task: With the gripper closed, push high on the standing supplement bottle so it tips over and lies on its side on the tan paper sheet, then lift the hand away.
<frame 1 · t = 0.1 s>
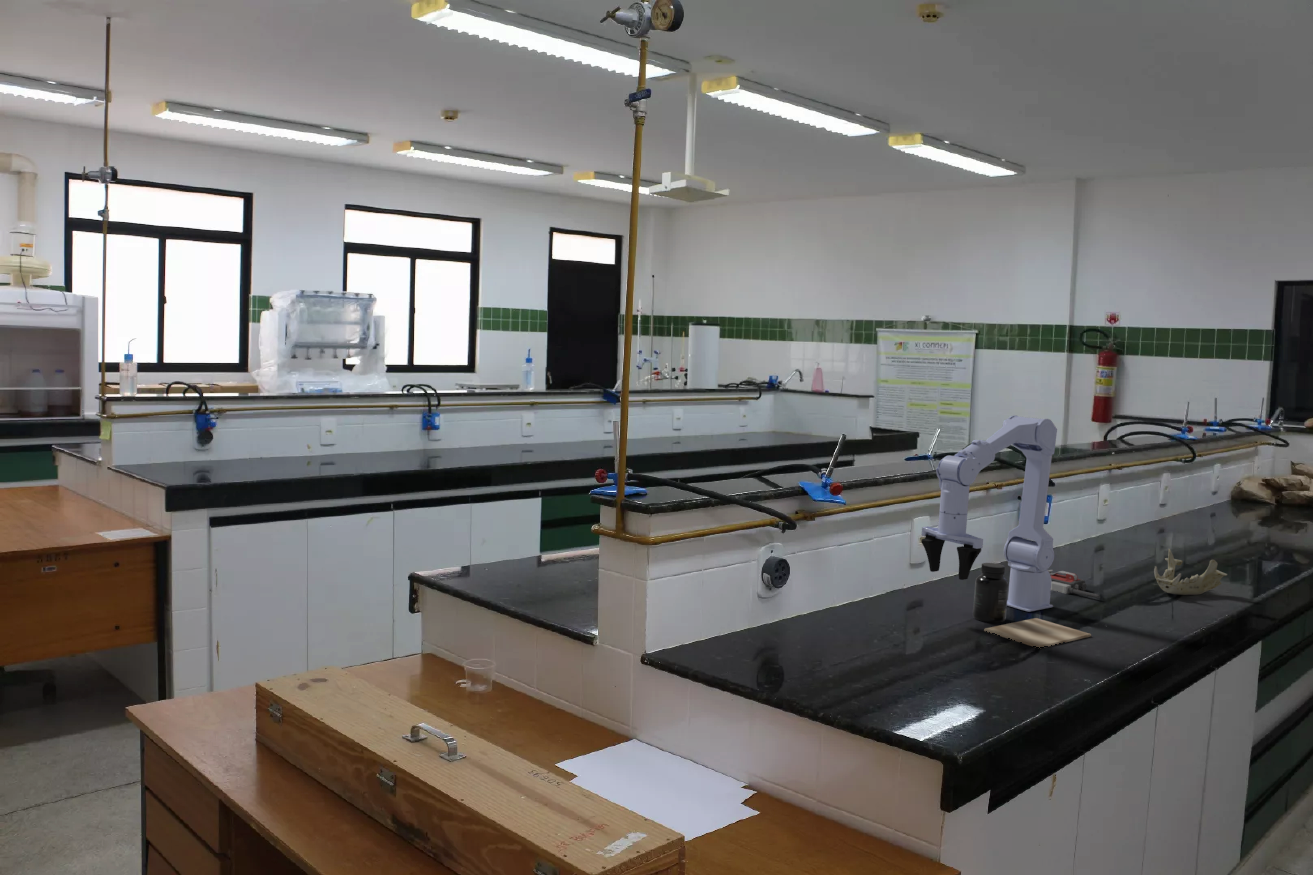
hand: (948, 575, 212), 10 cm above the table, tool pointing down, fingers open, 7 cm apart
tan paper sheet: (1037, 633, 206), on the table
supplement bottle: (988, 619, 216), on the table
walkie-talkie: (1067, 592, 247), on the table
mandible: (1179, 594, 249), on the table
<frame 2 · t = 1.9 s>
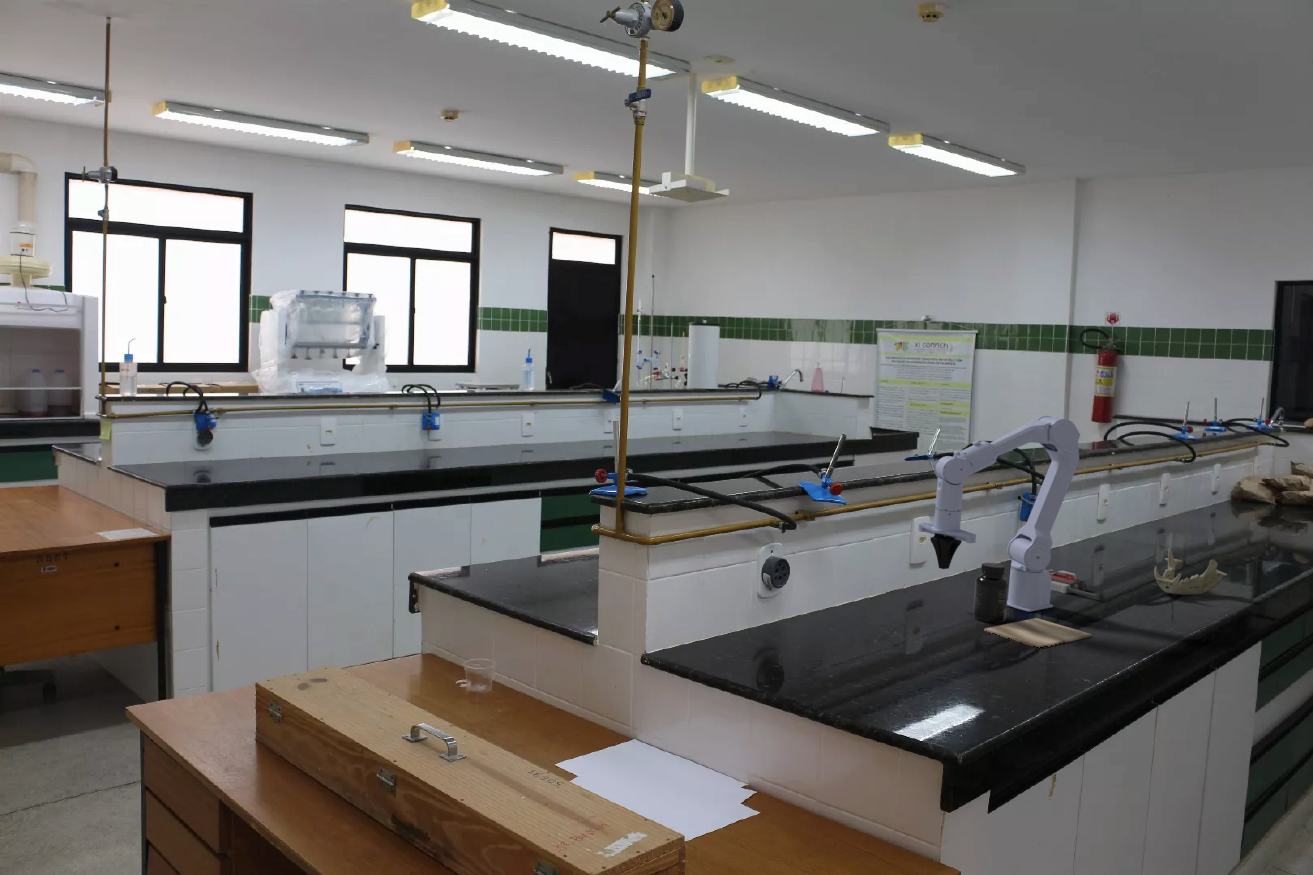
hand: (943, 568, 226), 8 cm above the table, tool pointing down, fingers closed
nothing on the table moved.
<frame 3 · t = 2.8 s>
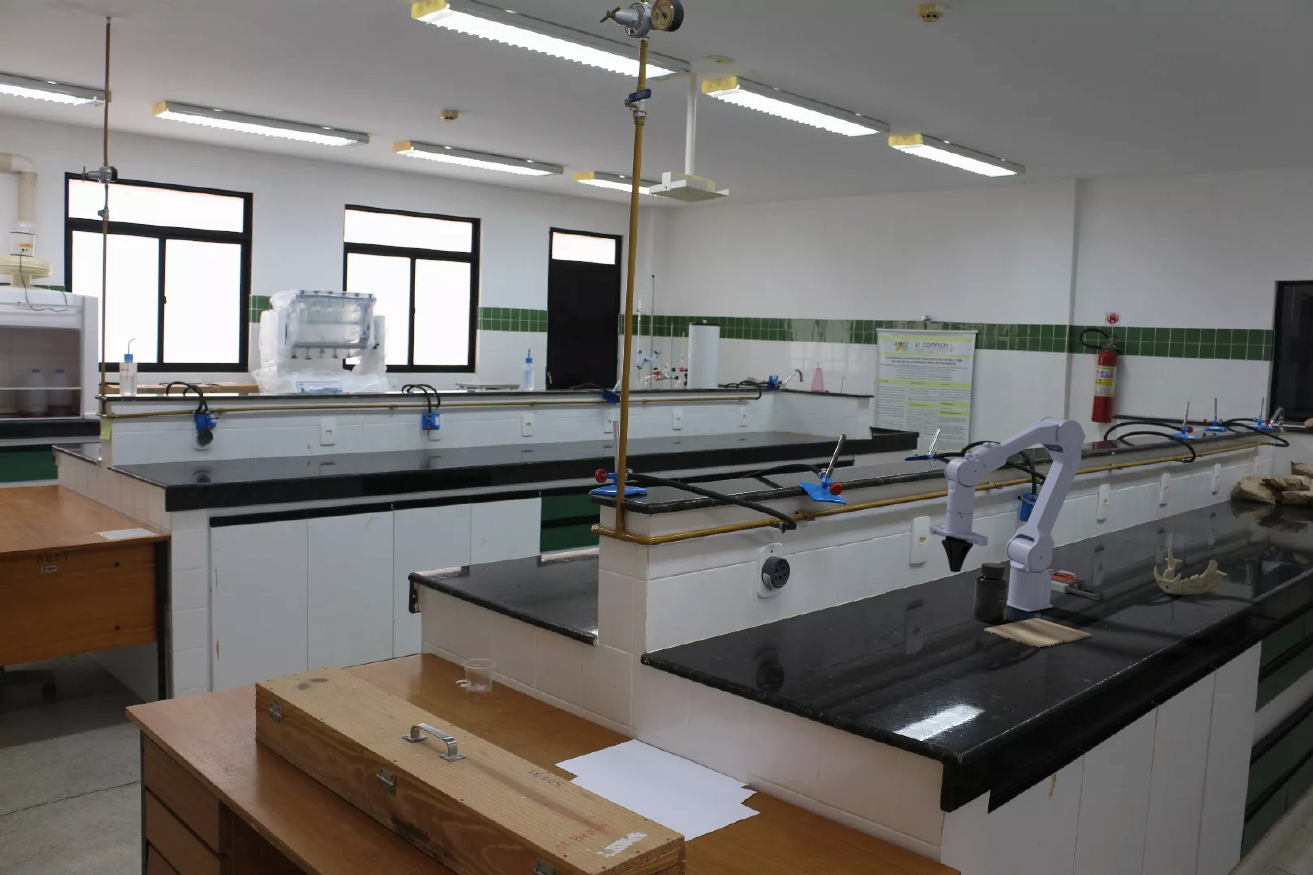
hand: (955, 571, 223), 8 cm above the table, tool pointing down, fingers closed
nothing on the table moved.
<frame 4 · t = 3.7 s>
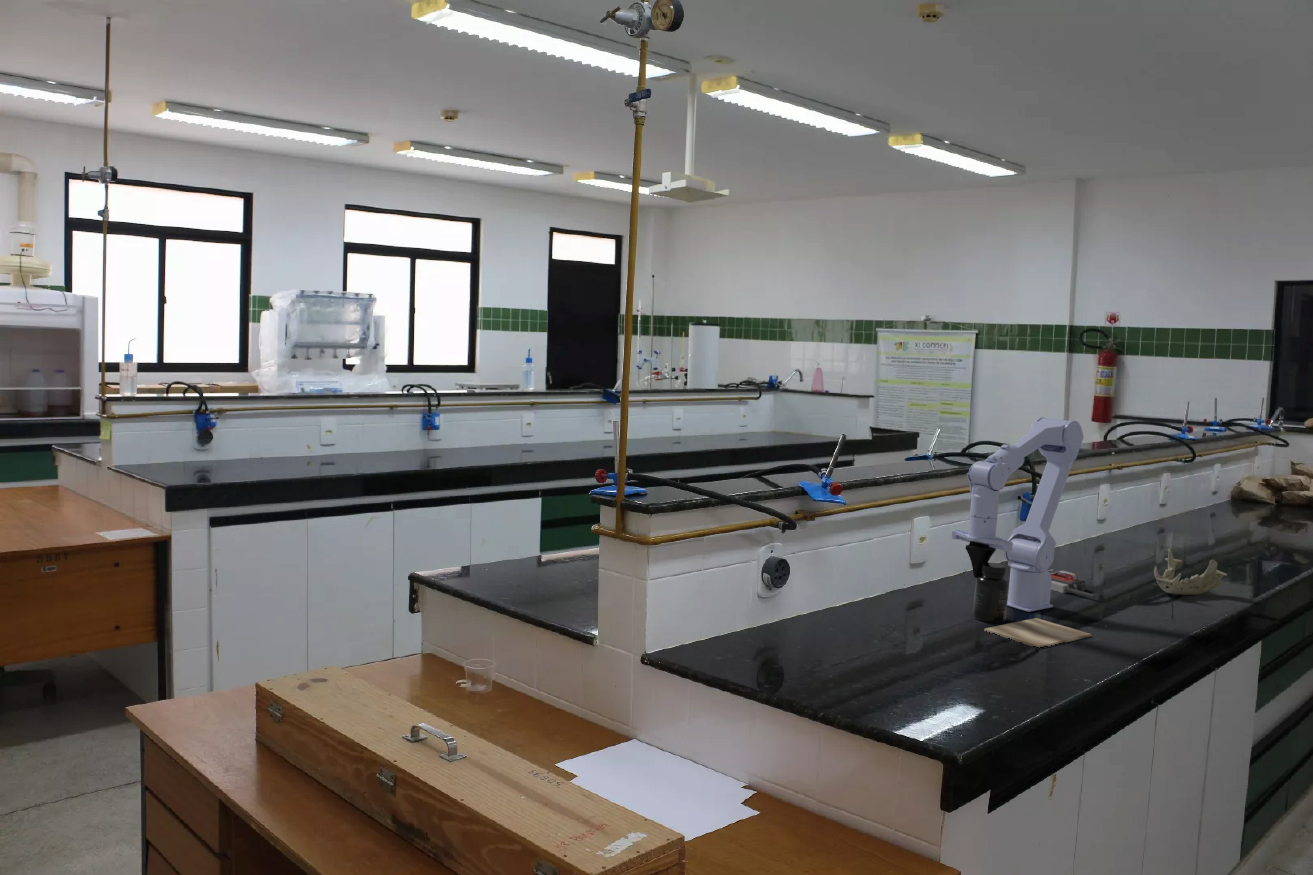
hand: (978, 577, 218), 8 cm above the table, tool pointing down, fingers closed, pressing on supplement bottle
supplement bottle: (988, 619, 216), on the table, touching gripper
everything else where it was.
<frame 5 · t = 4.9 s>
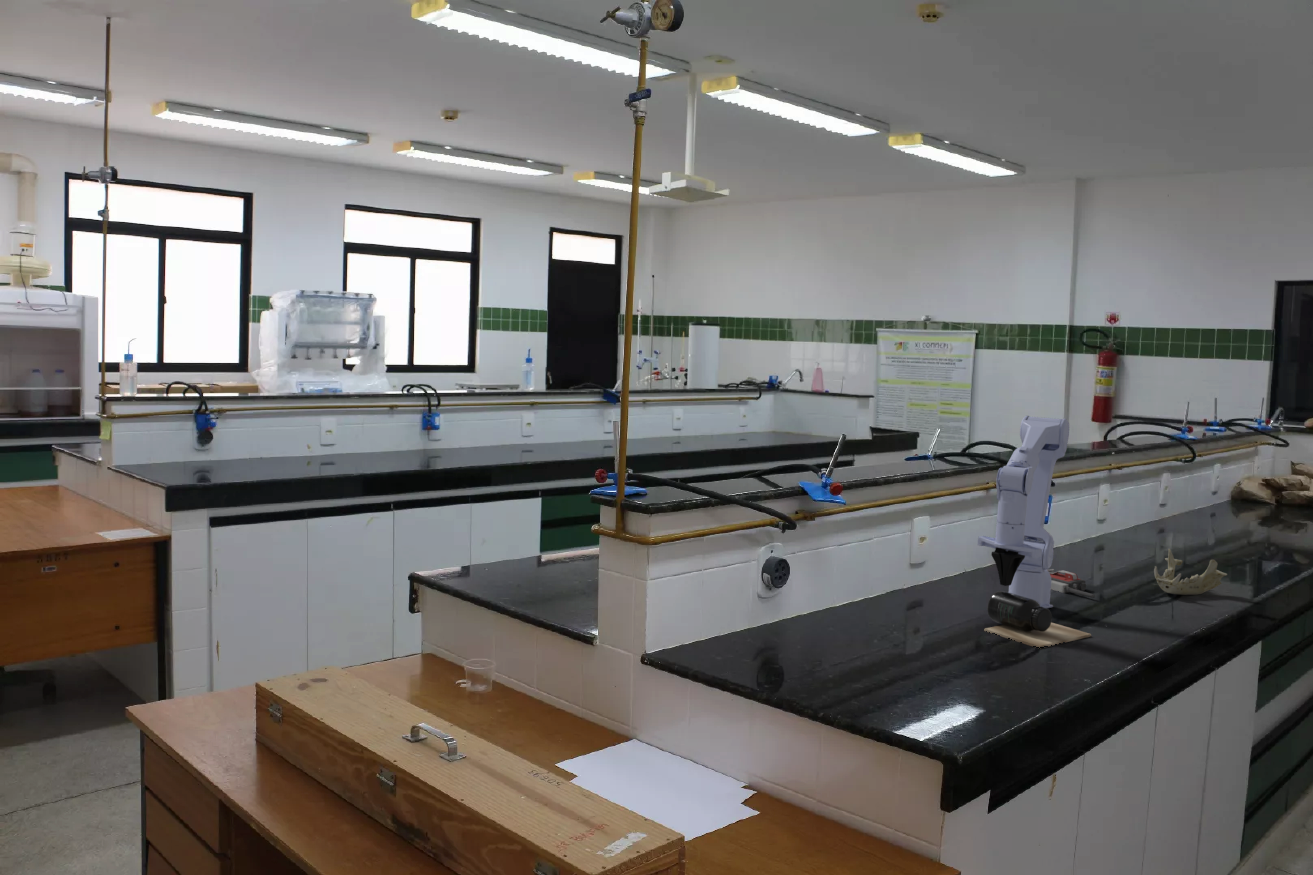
hand: (1005, 584, 212), 8 cm above the table, tool pointing down, fingers closed
supplement bottle: (996, 605, 212), point 4 cm above the table, touching tan paper sheet
everything else where it was.
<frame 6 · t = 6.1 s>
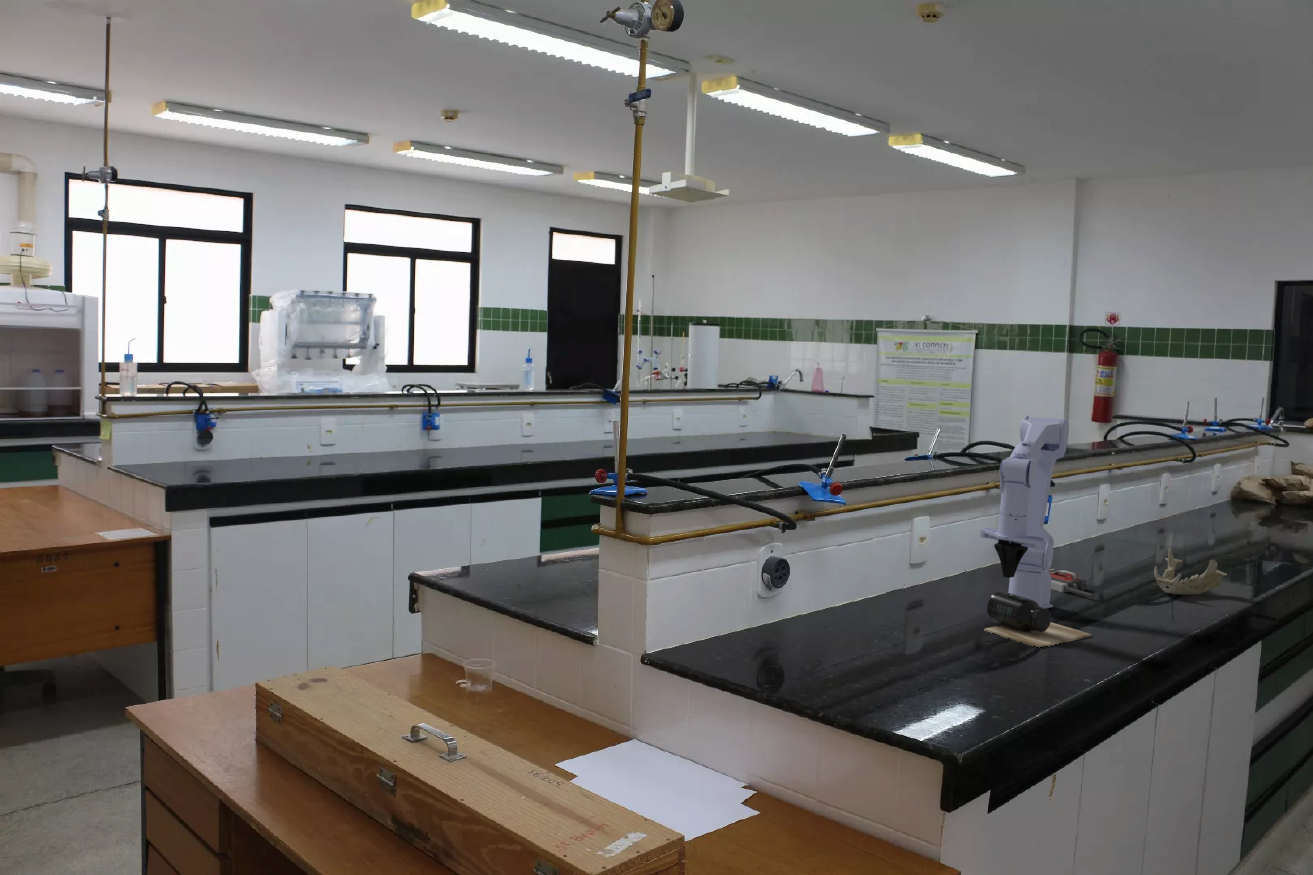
hand: (1008, 576, 212), 10 cm above the table, tool pointing down, fingers closed
nothing on the table moved.
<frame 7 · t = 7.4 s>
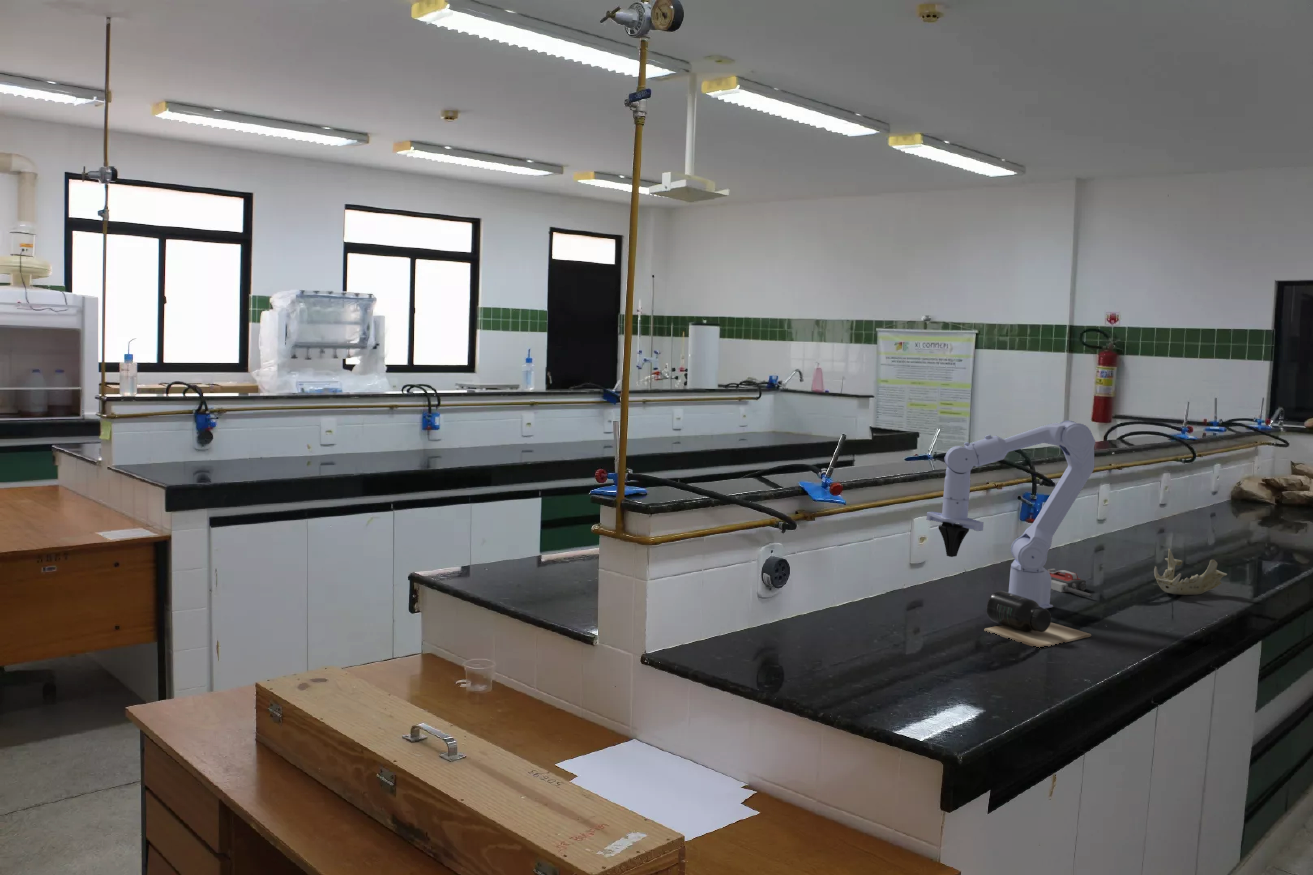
hand: (951, 556, 230), 10 cm above the table, tool pointing down, fingers closed
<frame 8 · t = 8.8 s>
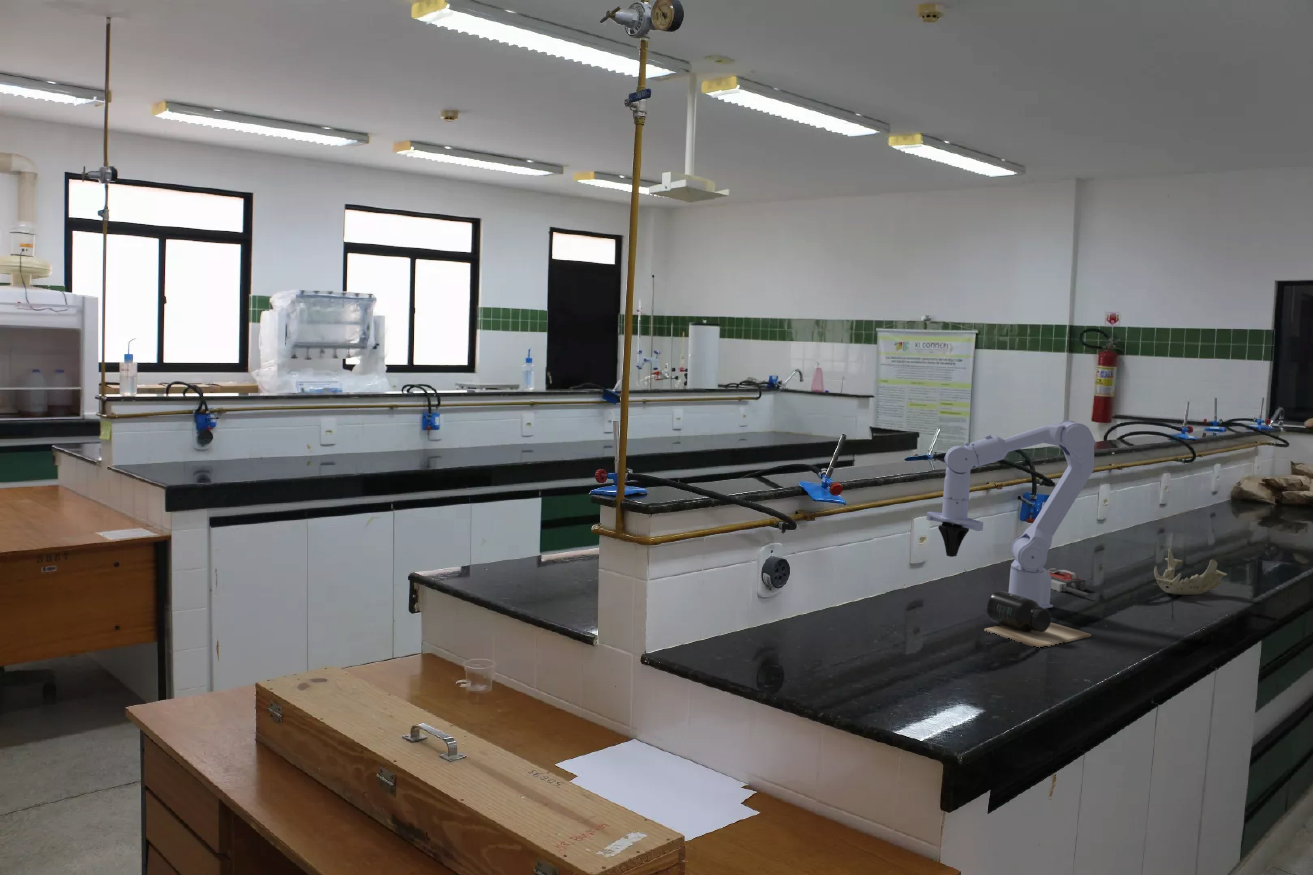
hand: (951, 555, 230), 10 cm above the table, tool pointing down, fingers closed
at the end: supplement bottle tilted 90°; supplement bottle inside the target area (7.9 cm from its centre), point 3.9 cm above the table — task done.
